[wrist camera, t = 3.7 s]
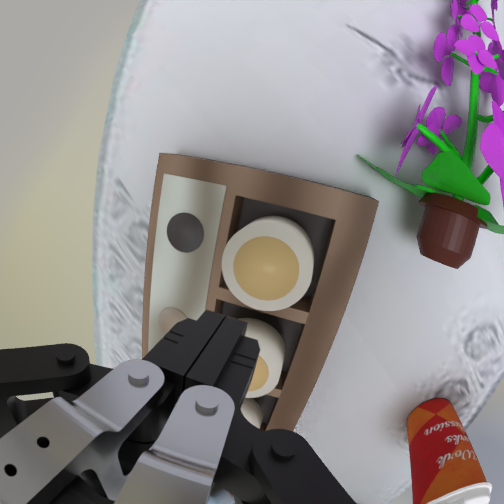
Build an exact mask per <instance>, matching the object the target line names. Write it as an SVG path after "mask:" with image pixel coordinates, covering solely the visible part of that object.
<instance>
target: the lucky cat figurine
mask: <svg viewBox="0 0 504 504" xmlns="http://www.w3.org/2000/svg"><path fill="white" fill-rule="evenodd" d="M207 504H236V502H235V500H234V496H233V494H231V493H229V492H228V491H226V490H225V489H223V488H222V487H220V486H219V485H217V484H216V483H214V484H213V487H212V490H211V493H210V496H209V500H208V503H207Z"/></svg>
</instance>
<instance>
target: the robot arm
mask: <svg viewBox="0 0 504 504" xmlns="http://www.w3.org/2000/svg"><path fill="white" fill-rule="evenodd" d="M247 324H248V322H245V321H242V320H239V319H236V318H232V317H229V316H226V315H222V314H219V313H216V312H213V311H210V310H205V311H204V312H203V314H202V315H201V316H200V317H199V318H198V320H197V321H196V320H193V319H190V318H187V319H185V320H182V321H180V322H177V323H176V324H175V325H174V326H173V327H172V328H171V329H170V330H169V332H167V333H166V334H165V336H164V337H163V338H162V339H161V340H160V341H159V342H158V343H157V344H156V345H155V346H154V347H153V348H152V349H151V350H150V351H149V352H148V353H147V354H146V355H145V357H144V358H143V359H142V360H138V359H135V360H128V361H125V362H122V363H121V364H119V365H118V366H117V367H115V368H114V369H111V368H106V367H102V366H98V365H93V364H90V361H89V356H88V354H87V352H86V351H85V350H84V349H83V348H81V347H80V346H77V345H74V344H67V343H65V344H56V345H46V346H37V347H26V348H15V349H2V350H0V504H207V503H208V500H209V496H210V493H211V490H212V487H213V484H214V483H216V484H217V485H219V486H220V487H222V488H223V489H225V490H226V491H228V492H229V493H231V494H233V496H234V500H235V502H236V504H356V503H355V502H354V501H353V499H352V498H351V497H350V496H349V495H348V493H347V492H346V491H345V490H344V488H343V487H342V486H341V485H340V483H339V482H338V481H337V480H336V478H335V477H334V476H333V475H332V473H331V472H330V471H329V470H328V468H327V467H326V466H325V464H324V463H323V462H322V461H321V459H320V458H319V457H318V455H317V454H316V453H315V451H314V450H313V449H312V447H311V446H310V445H309V443H308V442H307V441H306V440H305V439H304V438H303V437H302V436H300V435H299V434H297V433H295V432H293V431H290V430H286V429H270V430H267V431H262V430H261V429H259V428H257V427H255V426H254V425H252V424H251V423H250V422H249V421H248V420H247V419H246V418H245V417H244V415H243V414H242V411H241V407H242V405H243V402H244V400H245V397H246V394H247V392H248V389H249V387H250V384H251V381H252V378H253V374H254V371H255V367H256V364H257V360H258V356H259V353H260V347H259V343H258V340H256V339H253V338H250V337H246V336H245V334H246V330H247ZM46 392H53V395H54V398H46V399H38V400H28V401H22V400H20V399H18V398H17V397H16V396H18V395H28V394H37V393H46Z"/></svg>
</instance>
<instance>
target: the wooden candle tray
mask: <svg viewBox="0 0 504 504" xmlns="http://www.w3.org/2000/svg"><path fill="white" fill-rule="evenodd" d="M378 203H379V201H377V200H375V199H373V198H371V197H368V196H364V195H361V194H357V193H354V192H350V191H347V190H343V189H339V188H336V187H332V186H328V185H324V184H320V183H316V182H312V181H308V180H304V179H300V178H296V177H292V176H287V175H283V174H279V173H274V172H270V171H265V170H260V169H256V168H251V167H246V166H241V165H236V164H231V163H225V162H220V161H215V160H209V159H203V158H197V157H191V156H185V155H178V154H168V153H160V154H159V159H158V165H157V172H156V178H155V185H154V192H153V199H152V207H151V215H150V223H149V232H148V242H147V253H146V265H145V280H144V297H143V324H142V359H143V358H144V357H145V355H146V354H147V353H148V352H149V351H150V350H151V349H152V348H153V347H154V346H155V345H156V344H157V343H158V342H159V341H160V340H161V339H162V338H163V337H164V336H165V334H166V333H167V332H169V330H170V329H171V328H172V327H173V326H174V325H175V324H176V323H177V322H180V321H182V320H185V319H187V318H190V319H193V320H196V321H197V320H198V318H199V317H200V316H201V315H202V314H203V312H204V311H205V310H210V311H213V312H216V313H219V314H222V315H226V316H229V317H232V318H236V319H240V318H254V319H258V320H261V321H264V322H266V323H268V324H269V325H271V326H272V327H273V328H275V329H276V330H277V331H278V332H279V334H280V335H281V337H282V338H283V341H284V343H285V348H286V353H285V358H284V362H283V366H282V370H281V374H280V378H279V381H278V384H277V385H276V387H275V388H274V389H273V390H272V391H271V392H269V393H268V394H266V395H263V396H260V397H255V398H252V399H254V400H255V401H256V402H257V403H258V404H259V405H260V407H261V409H262V411H263V419H262V423H261V426H260V429H261V430H262V431H267V430H270V429H286V430H290V431H293V430H294V428H295V426H296V424H297V422H298V420H299V418H300V416H301V414H302V412H303V409H304V407H305V405H306V403H307V401H308V399H309V397H310V395H311V392H312V390H313V388H314V386H315V384H316V381H317V379H318V377H319V374H320V372H321V370H322V368H323V365H324V363H325V360H326V358H327V356H328V353H329V351H330V348H331V346H332V343H333V341H334V338H335V336H336V333H337V331H338V328H339V325H340V323H341V320H342V318H343V315H344V312H345V309H346V307H347V304H348V301H349V298H350V295H351V292H352V290H353V287H354V284H355V281H356V278H357V275H358V272H359V268H360V265H361V262H362V259H363V256H364V253H365V249H366V246H367V243H368V239H369V236H370V232H371V229H372V225H373V222H374V218H375V214H376V210H377V207H378ZM265 216H281V217H285V218H288V219H290V220H292V221H294V222H296V223H297V224H298V225H300V226H301V227H302V228H303V229H304V230H305V231H306V233H307V234H308V236H309V238H310V240H311V242H312V245H313V249H314V265H313V274H312V279H311V283H310V286H309V288H308V290H307V291H306V293H305V294H304V296H303V297H302V298H301V299H300V300H299V301H297V302H296V303H295V304H293V305H292V306H290V307H287V308H285V309H282V310H277V311H262V310H257V309H254V308H251V307H249V306H247V305H245V304H244V303H242V302H241V301H240V300H238V299H237V298H236V297H235V296H234V295H233V294H232V292H231V291H230V290H229V288H228V286H227V285H226V282H225V280H224V277H223V273H222V256H223V252H224V249H225V247H226V245H227V243H228V241H229V240H230V239H231V238H232V236H233V235H234V234H236V233H237V232H238V231H239V230H241V229H242V228H244V227H245V226H247V225H248V224H249V223H251V222H252V221H254V220H256V219H258V218H261V217H265Z"/></svg>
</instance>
